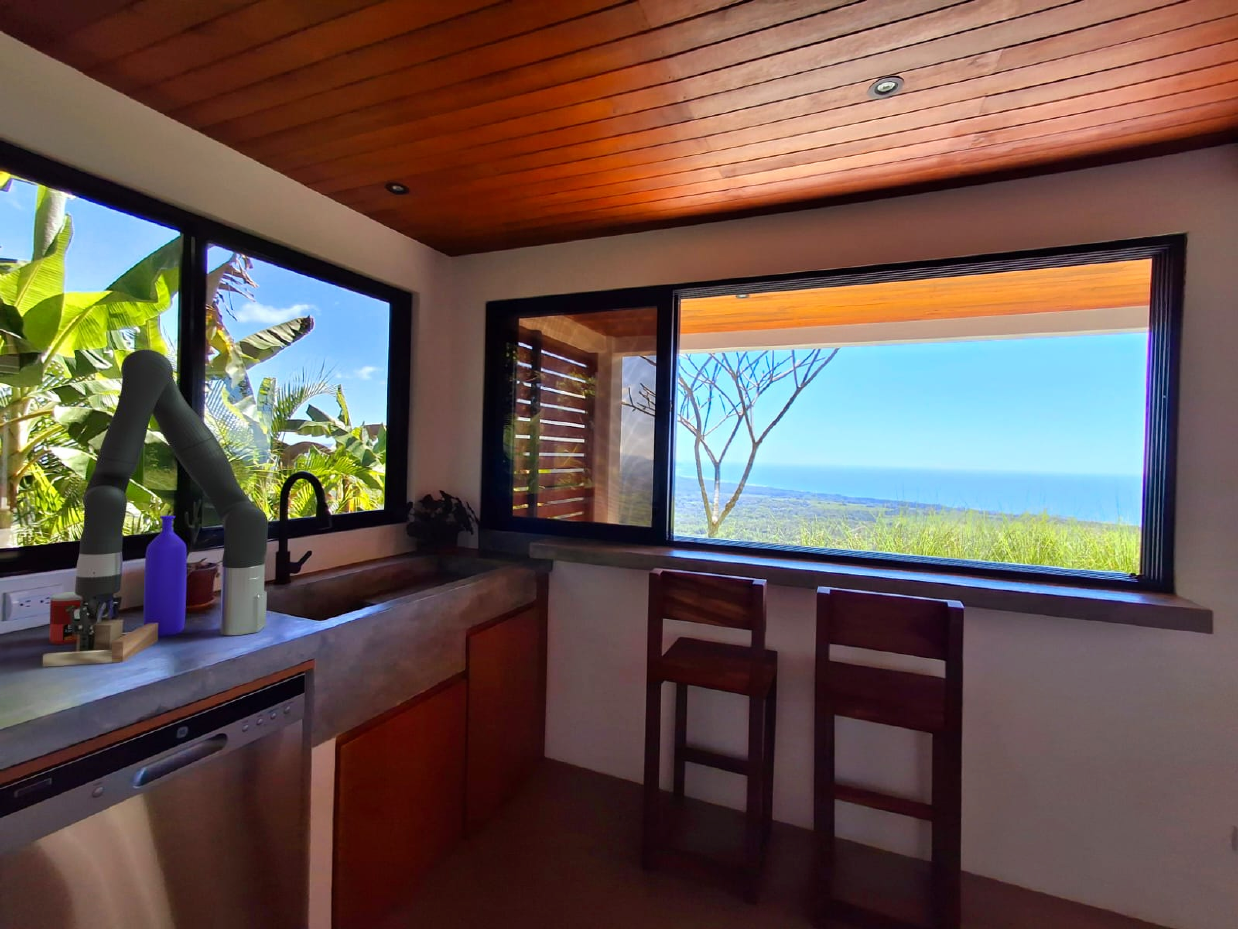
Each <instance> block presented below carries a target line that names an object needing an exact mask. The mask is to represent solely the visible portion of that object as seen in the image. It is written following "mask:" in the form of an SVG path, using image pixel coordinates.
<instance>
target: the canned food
mask: <svg viewBox="0 0 1238 929" xmlns="http://www.w3.org/2000/svg"><path fill="white" fill-rule="evenodd" d="M81 601H82V597H81V596H78V595H76V594H75V591H68V592H61V593H57V594H54V595H51V596H50V602H49V603H50V605H49V641H50V643H51V644H53V645H67V644H76V643H77V635H73V633H72V626H71V619H70V611H71V610H72V609H78V608H80V604H81ZM88 620H94V619H88ZM78 626H79V625H78Z"/></svg>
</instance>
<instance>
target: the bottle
mask: <svg viewBox="0 0 1238 929" xmlns="http://www.w3.org/2000/svg"><path fill="white" fill-rule="evenodd" d="M159 518H160V519H161V520H162V528H161V532H160V533H159V534H158V535H157V536H155V537H154V539H153V540H152V541H151V542H150V543H149V544H148V545H147V547H146V552H145V560H144V561H145V562H144V581H143V582H144V583H143V585H144V586H143V587H144V588H143V626H144V625H146V624H148V623H158V638H159V637H167V636H171V635H175V634H179V633H181V632H182V631H183V630H184V628H185V624H186V623H185V622H186V602H187V570H188V568H187V563H188V561H187V560H188V559H187V558H188V557H187V556H188V555H187V545H186V543H185V542H184V540H182V538H180V536H178V535H177V534H176V533H175V532H174V530H173V520H174V519H175V518H176V515H160V516H159Z"/></svg>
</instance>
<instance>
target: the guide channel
mask: <svg viewBox="0 0 1238 929" xmlns="http://www.w3.org/2000/svg"><path fill="white" fill-rule="evenodd" d="M158 639H159V637H158V623H148V624H146V625H144V624H143V625H142V626H141V627H139V628H136V629H135V630H132V631H130V632H129V631H128V632H122V637H121V638H119V639H117V640H115V641H113V642H112V650H98V651H80V652H76V651H65V652H64V651H63V652H48V653H47V652H46V653H45V654H42V667H45V668H46V667H58V666H59V667H60V666H73V665H75V666H76V665H78V666H79V665H91V664H93V665H94V664H108V663H123V662H125V661H127V660H128V659H130V658H132V657H133V656H135V655H137V654H138V653H140V652H142V651H144V650H145V649H147V648H149V647H150V646H152V645H153V644H156V643H157V642H158V641H159V640H158Z"/></svg>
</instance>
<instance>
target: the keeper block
mask: <svg viewBox="0 0 1238 929" xmlns="http://www.w3.org/2000/svg"><path fill="white" fill-rule="evenodd" d="M90 626H91V624H89V628H90ZM79 627H80V625H79V626H78V628H79ZM123 627H124V619H117V620H101V621H100V623H99V624H97V625H96V629H95V633H94V634H95V635H94V648H93V650H92V651H98V650H112V642H113V641H115V640H117V639H119V638H121V637H122V633H123V630H124V629H123ZM79 648H80V635H77V642H76V648H75V649H76V650H75V652H80V651H79Z"/></svg>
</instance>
